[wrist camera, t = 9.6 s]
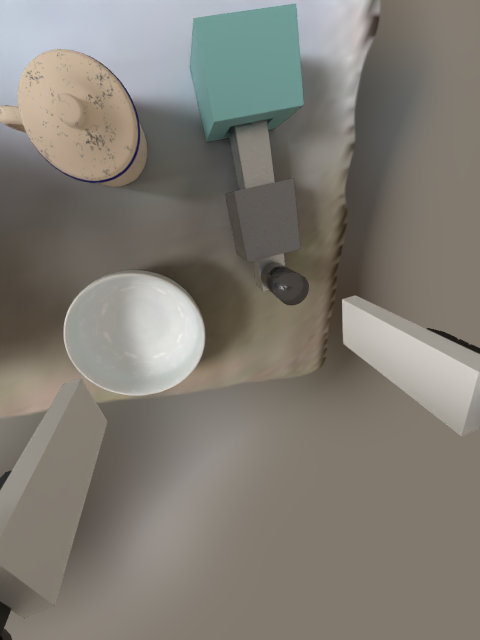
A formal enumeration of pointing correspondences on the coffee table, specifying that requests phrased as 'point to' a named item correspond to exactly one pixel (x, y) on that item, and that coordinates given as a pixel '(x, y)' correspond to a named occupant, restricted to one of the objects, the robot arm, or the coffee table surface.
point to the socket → (246, 68)
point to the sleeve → (264, 220)
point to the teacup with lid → (79, 118)
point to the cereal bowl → (134, 332)
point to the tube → (255, 171)
